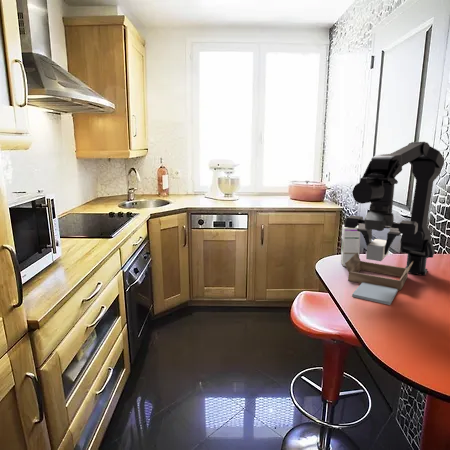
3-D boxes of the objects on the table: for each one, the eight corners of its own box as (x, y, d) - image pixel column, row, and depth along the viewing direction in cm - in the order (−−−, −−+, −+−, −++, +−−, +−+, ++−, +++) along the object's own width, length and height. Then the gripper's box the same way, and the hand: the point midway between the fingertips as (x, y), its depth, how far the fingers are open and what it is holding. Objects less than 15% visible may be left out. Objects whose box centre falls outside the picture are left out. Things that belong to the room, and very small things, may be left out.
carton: (355, 268, 121) (356, 252, 120) (412, 278, 111) (413, 261, 110) (343, 279, 111) (344, 262, 109) (405, 291, 100) (407, 273, 99)
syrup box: (359, 267, 122) (361, 227, 119) (341, 266, 123) (344, 227, 120) (356, 262, 128) (358, 224, 125) (340, 261, 129) (341, 223, 126)
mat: (362, 284, 107) (362, 282, 106) (397, 291, 101) (397, 288, 101) (352, 296, 98) (352, 294, 98) (390, 305, 92) (390, 302, 92)
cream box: (374, 251, 106) (375, 238, 105) (388, 253, 103) (389, 240, 103) (366, 259, 98) (367, 245, 97) (381, 261, 96) (382, 247, 95)
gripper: (339, 201, 96) (336, 254, 99) (414, 206, 85) (408, 266, 88) (351, 197, 105) (348, 246, 108) (420, 201, 94) (414, 256, 97)
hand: (377, 253), depth 100 cm, fingers closed on cream box, 4 cm apart
